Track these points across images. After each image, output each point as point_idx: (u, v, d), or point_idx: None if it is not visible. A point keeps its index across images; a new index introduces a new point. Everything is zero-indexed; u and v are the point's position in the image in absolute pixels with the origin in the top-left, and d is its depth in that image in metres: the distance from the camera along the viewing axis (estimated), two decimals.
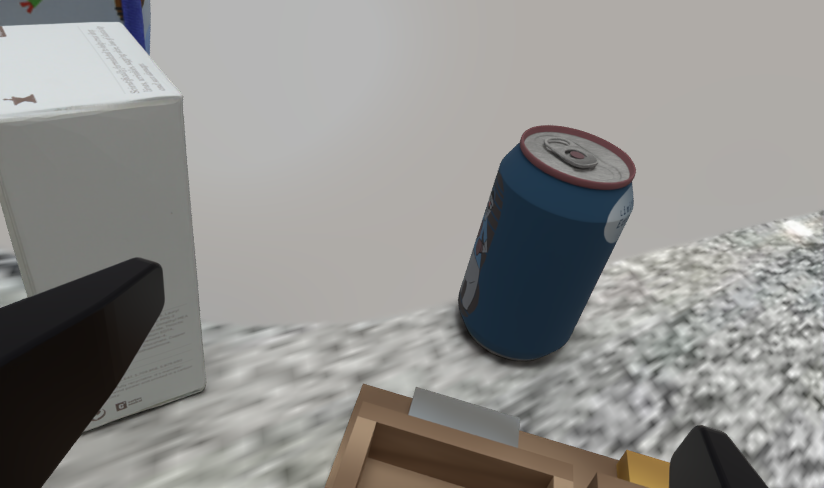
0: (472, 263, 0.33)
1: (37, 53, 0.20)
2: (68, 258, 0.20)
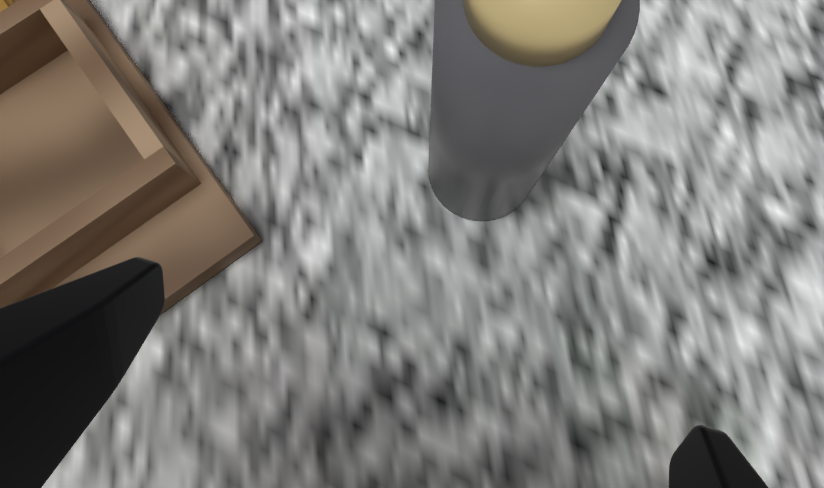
0: None
1: None
2: None
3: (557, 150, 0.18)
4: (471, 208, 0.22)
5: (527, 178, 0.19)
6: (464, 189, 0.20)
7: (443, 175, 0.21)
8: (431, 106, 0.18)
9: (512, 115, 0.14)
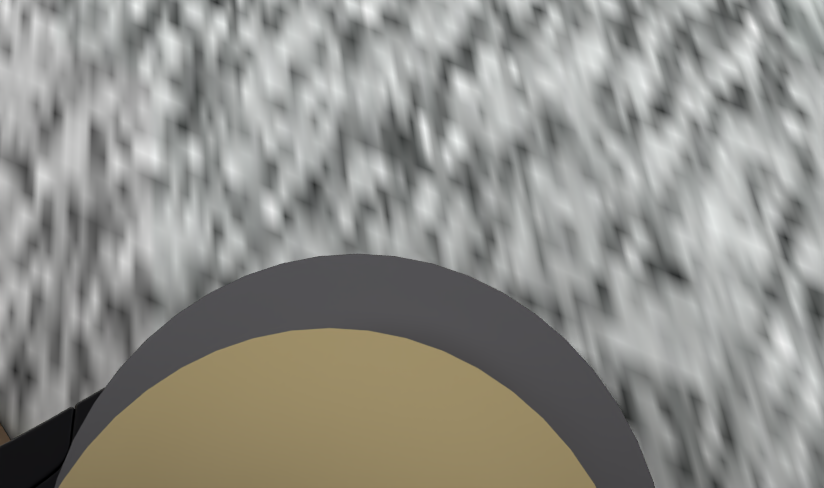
0: None
1: None
2: None
3: None
4: None
5: None
6: None
7: None
8: None
9: None
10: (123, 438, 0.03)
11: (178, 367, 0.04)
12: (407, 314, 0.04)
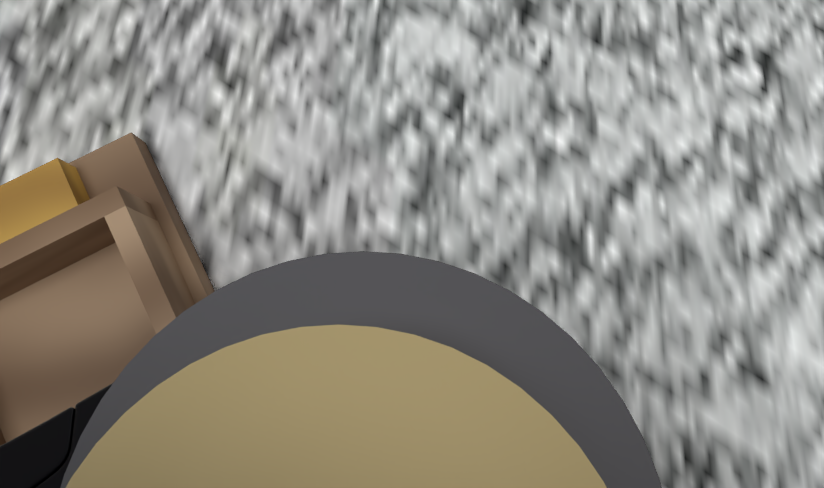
0: None
1: None
2: None
3: None
4: None
5: None
6: None
7: None
8: None
9: None
10: (132, 434, 0.03)
11: (185, 364, 0.04)
12: (413, 312, 0.04)
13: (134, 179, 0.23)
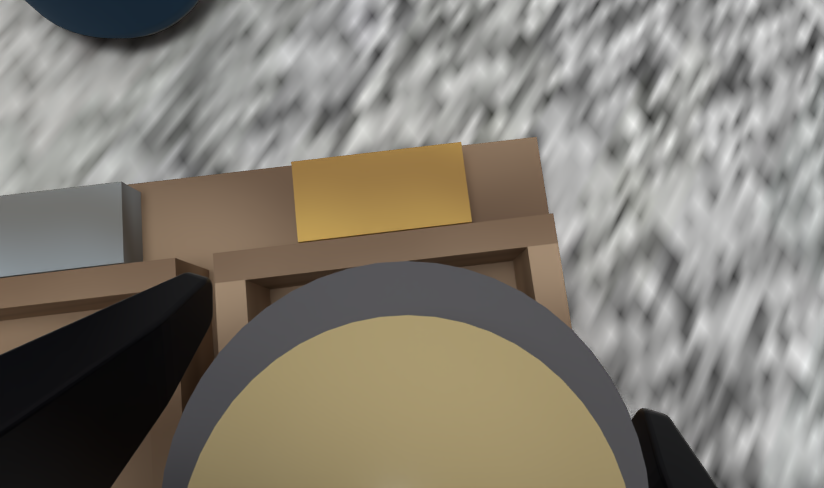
0: None
1: None
2: None
3: None
4: None
5: None
6: None
7: None
8: None
9: None
10: (259, 394, 0.04)
11: (268, 350, 0.05)
12: (447, 308, 0.06)
13: (524, 195, 0.18)
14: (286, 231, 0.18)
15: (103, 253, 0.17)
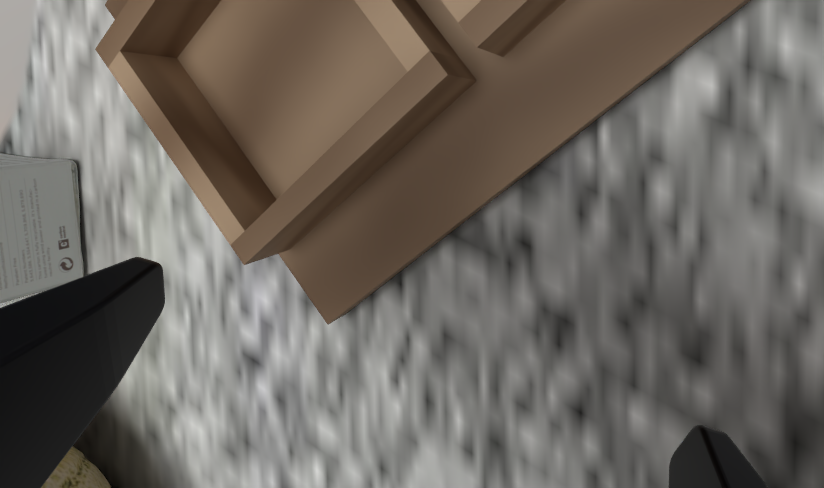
0: None
1: None
2: None
3: None
4: None
5: None
6: None
7: None
8: None
9: None
10: None
11: None
12: None
13: None
14: None
15: None
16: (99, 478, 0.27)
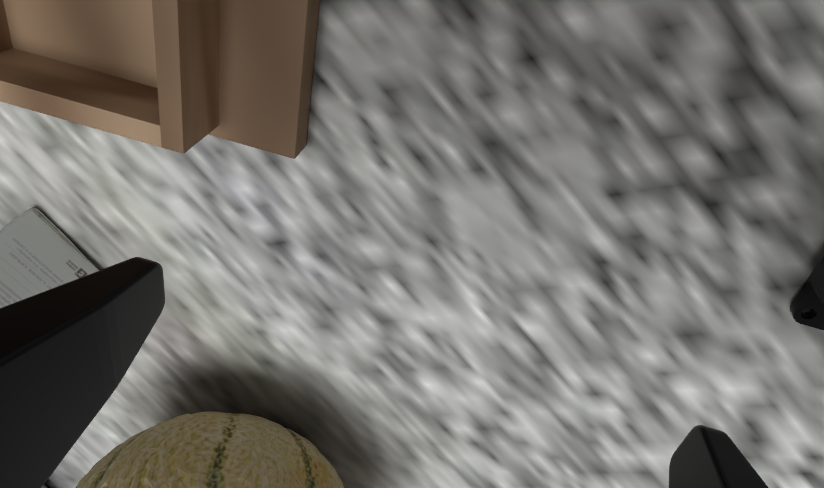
0: None
1: None
2: None
3: None
4: None
5: None
6: None
7: None
8: None
9: None
10: None
11: None
12: None
13: None
14: None
15: None
16: (252, 417, 0.30)
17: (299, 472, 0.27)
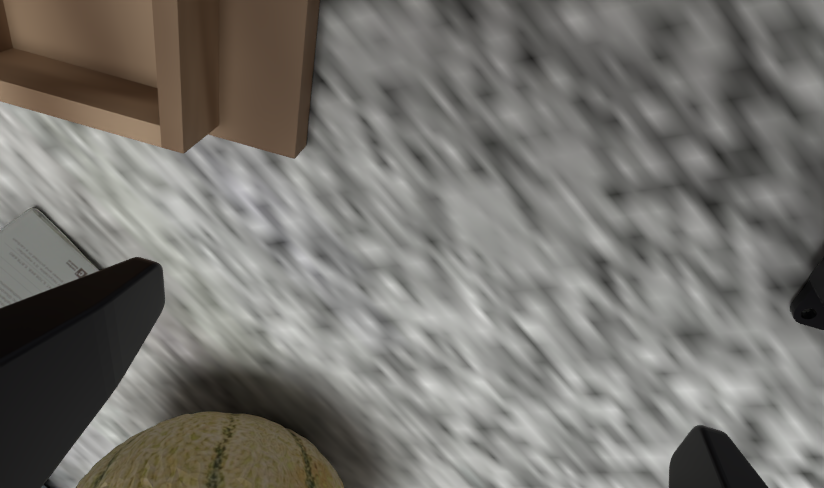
0: None
1: None
2: None
3: None
4: None
5: None
6: None
7: None
8: None
9: None
10: None
11: None
12: None
13: None
14: None
15: None
16: (252, 417, 0.30)
17: (299, 472, 0.27)
